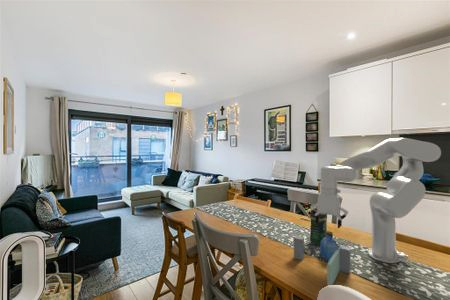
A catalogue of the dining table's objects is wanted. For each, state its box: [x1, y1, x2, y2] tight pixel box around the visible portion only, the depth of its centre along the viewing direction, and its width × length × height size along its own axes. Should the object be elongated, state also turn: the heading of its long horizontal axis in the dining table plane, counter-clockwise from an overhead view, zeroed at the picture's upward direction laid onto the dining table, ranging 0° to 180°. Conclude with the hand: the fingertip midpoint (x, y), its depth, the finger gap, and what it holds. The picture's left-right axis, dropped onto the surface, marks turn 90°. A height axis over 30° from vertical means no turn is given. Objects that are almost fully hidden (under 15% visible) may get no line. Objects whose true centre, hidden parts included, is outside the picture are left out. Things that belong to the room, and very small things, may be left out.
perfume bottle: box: [319, 230, 340, 261], centre depth 109 cm, size 6×6×12 cm
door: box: [326, 250, 340, 287], centre depth 90 cm, size 15×1×9 cm, turn 141°
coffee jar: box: [309, 209, 328, 246], centre depth 125 cm, size 10×8×19 cm
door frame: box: [293, 235, 352, 274], centre depth 102 cm, size 24×3×10 cm, turn 55°
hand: (328, 225), depth 109 cm, fingers open, 9 cm apart
